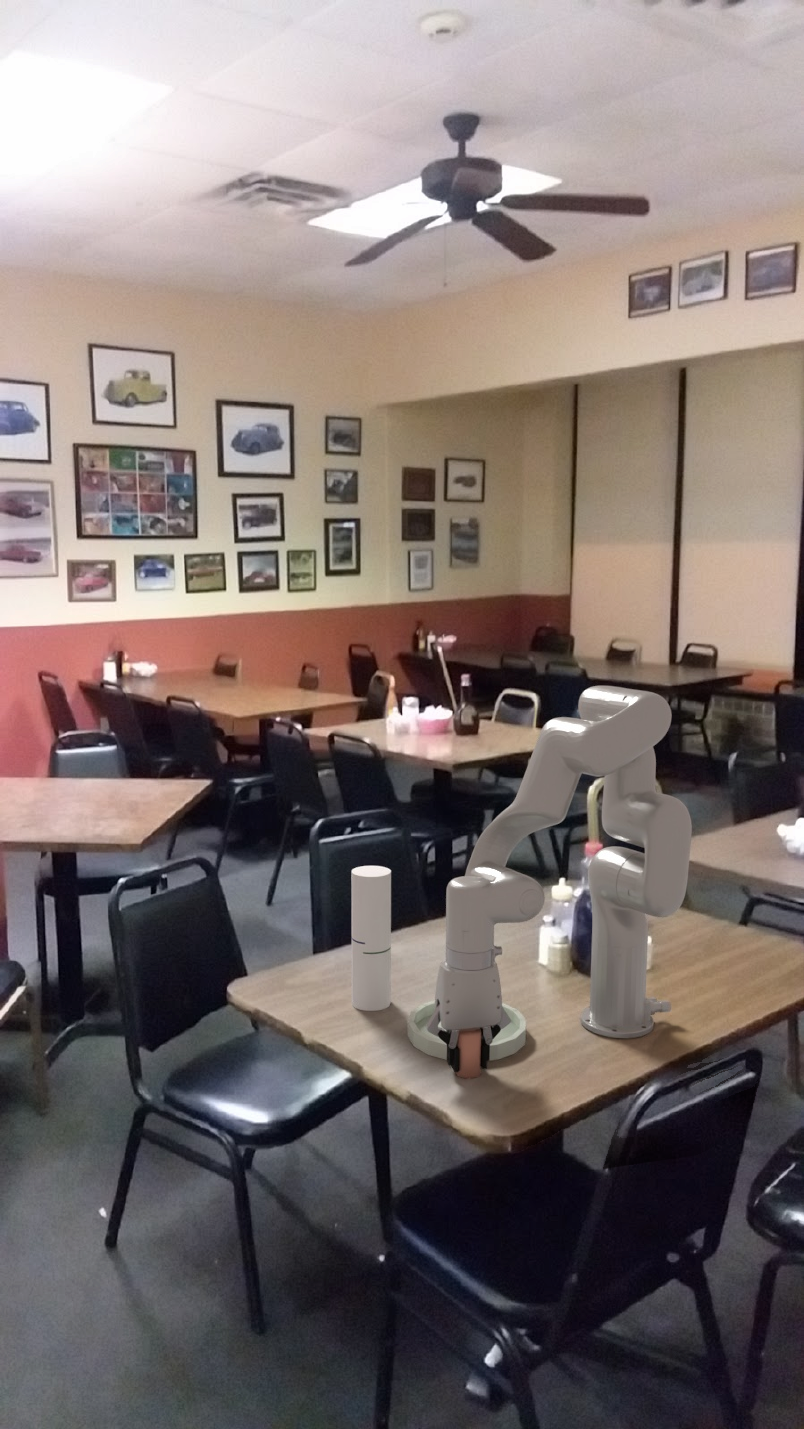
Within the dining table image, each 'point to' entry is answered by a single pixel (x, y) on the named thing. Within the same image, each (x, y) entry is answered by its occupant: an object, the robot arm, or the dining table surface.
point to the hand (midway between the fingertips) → (467, 1065)
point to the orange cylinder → (469, 1053)
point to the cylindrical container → (371, 937)
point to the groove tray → (432, 1045)
